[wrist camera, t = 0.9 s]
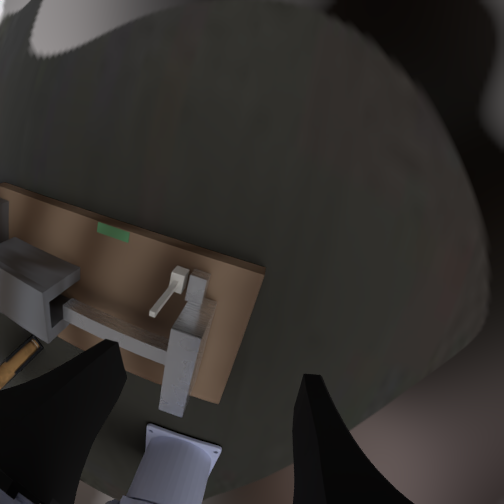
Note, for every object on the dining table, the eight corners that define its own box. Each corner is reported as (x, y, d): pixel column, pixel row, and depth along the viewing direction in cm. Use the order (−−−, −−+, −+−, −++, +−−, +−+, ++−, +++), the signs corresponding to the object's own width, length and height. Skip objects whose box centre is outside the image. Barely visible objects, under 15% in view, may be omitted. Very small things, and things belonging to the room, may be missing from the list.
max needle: (189, 269, 17) (161, 306, 13) (185, 287, 18) (158, 326, 13) (177, 265, 17) (145, 300, 13) (173, 282, 18) (143, 321, 13)
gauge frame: (265, 267, 18) (257, 319, 12) (221, 394, 22) (205, 452, 16) (2, 181, 18) (-49, 194, 12) (6, 294, 22) (-32, 320, 16)
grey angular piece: (224, 277, 17) (208, 311, 13) (196, 378, 20) (181, 417, 16) (85, 230, 17) (47, 248, 13) (83, 332, 20) (56, 360, 16)
